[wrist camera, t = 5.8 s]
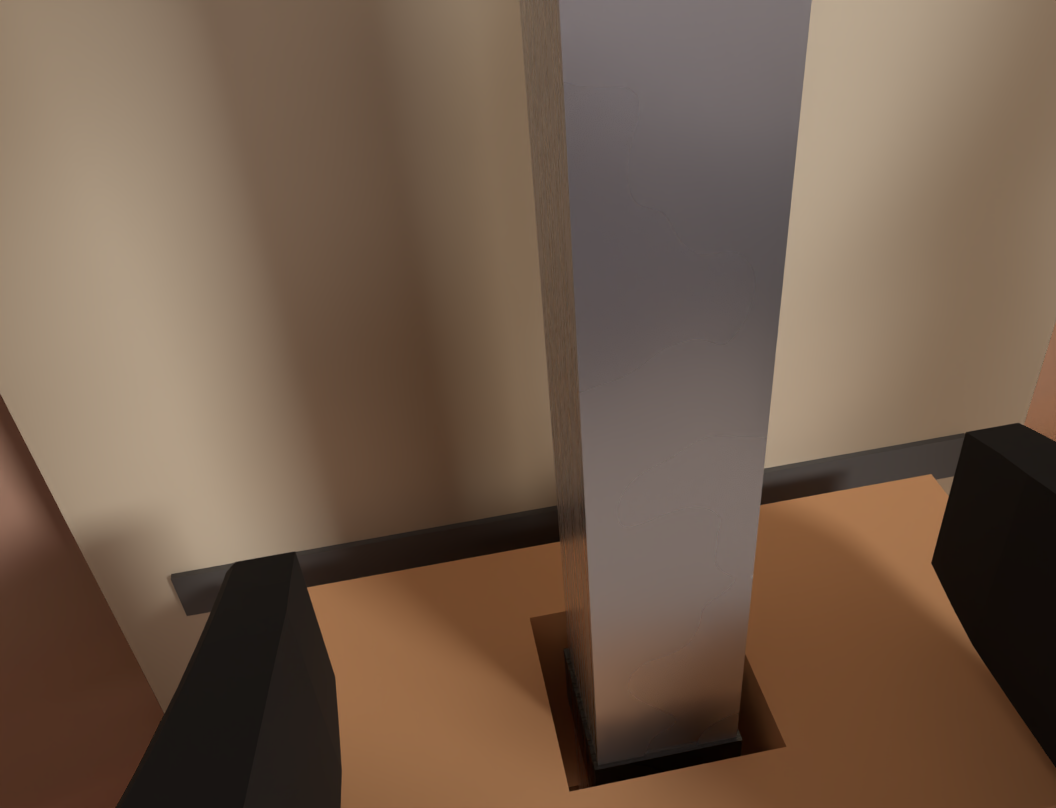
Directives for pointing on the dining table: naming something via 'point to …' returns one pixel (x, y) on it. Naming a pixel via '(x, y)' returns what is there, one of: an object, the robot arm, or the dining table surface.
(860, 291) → the board
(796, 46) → the rod
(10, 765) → the dining table surface
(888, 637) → the collar
